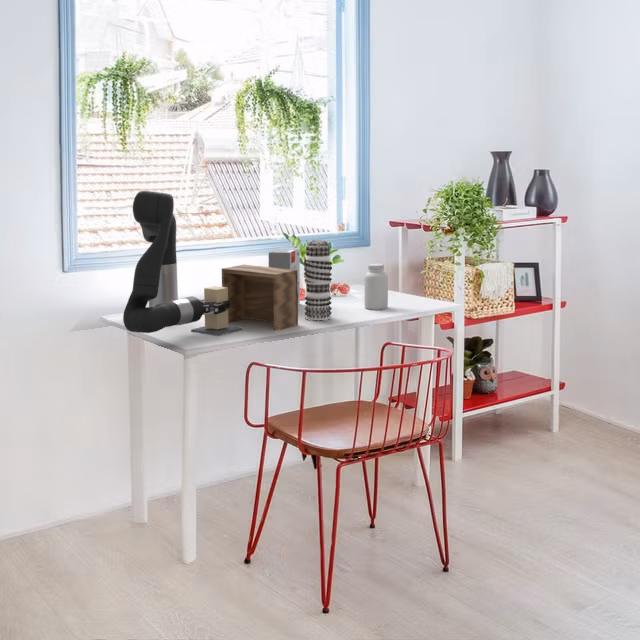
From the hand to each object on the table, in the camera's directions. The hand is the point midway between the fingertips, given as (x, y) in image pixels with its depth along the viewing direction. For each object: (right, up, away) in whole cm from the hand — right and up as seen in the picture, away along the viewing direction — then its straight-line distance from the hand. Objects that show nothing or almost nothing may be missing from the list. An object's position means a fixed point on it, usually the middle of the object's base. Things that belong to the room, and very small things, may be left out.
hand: (221, 303), depth 291 cm
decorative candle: (+29, -5, +18) cm, 34 cm away
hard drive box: (+18, -1, +36) cm, 41 cm away
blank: (-2, -7, -1) cm, 7 cm away
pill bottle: (+49, -1, +35) cm, 60 cm away
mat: (-1, -8, 0) cm, 8 cm away
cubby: (+11, -6, +9) cm, 16 cm away
